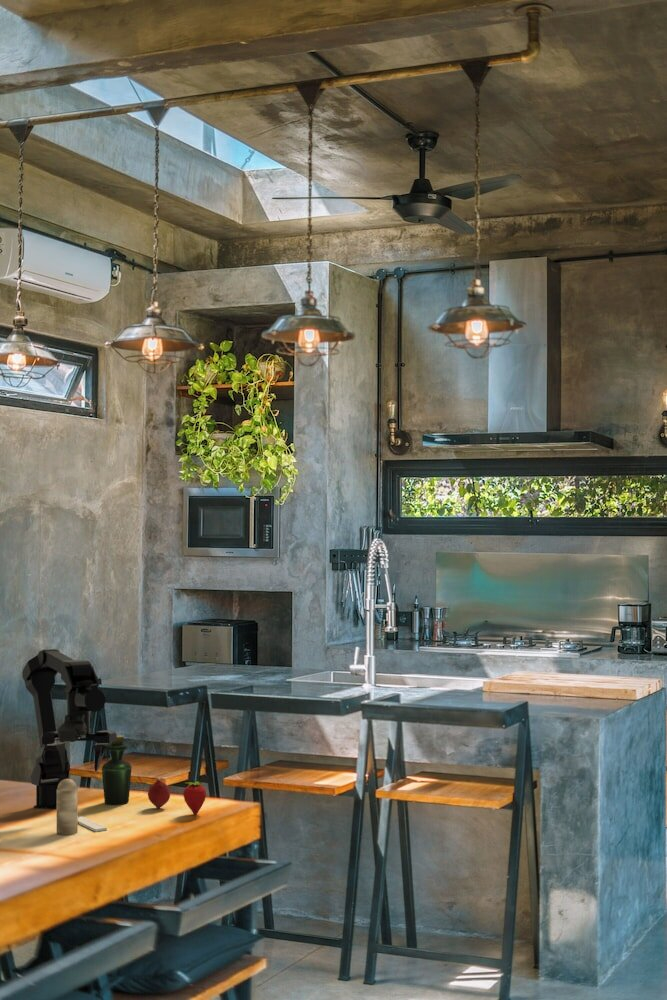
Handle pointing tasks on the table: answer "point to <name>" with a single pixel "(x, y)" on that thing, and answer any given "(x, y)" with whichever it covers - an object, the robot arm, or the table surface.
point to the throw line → (91, 824)
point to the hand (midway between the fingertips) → (79, 771)
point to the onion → (159, 793)
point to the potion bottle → (116, 775)
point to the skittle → (67, 807)
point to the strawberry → (194, 796)
